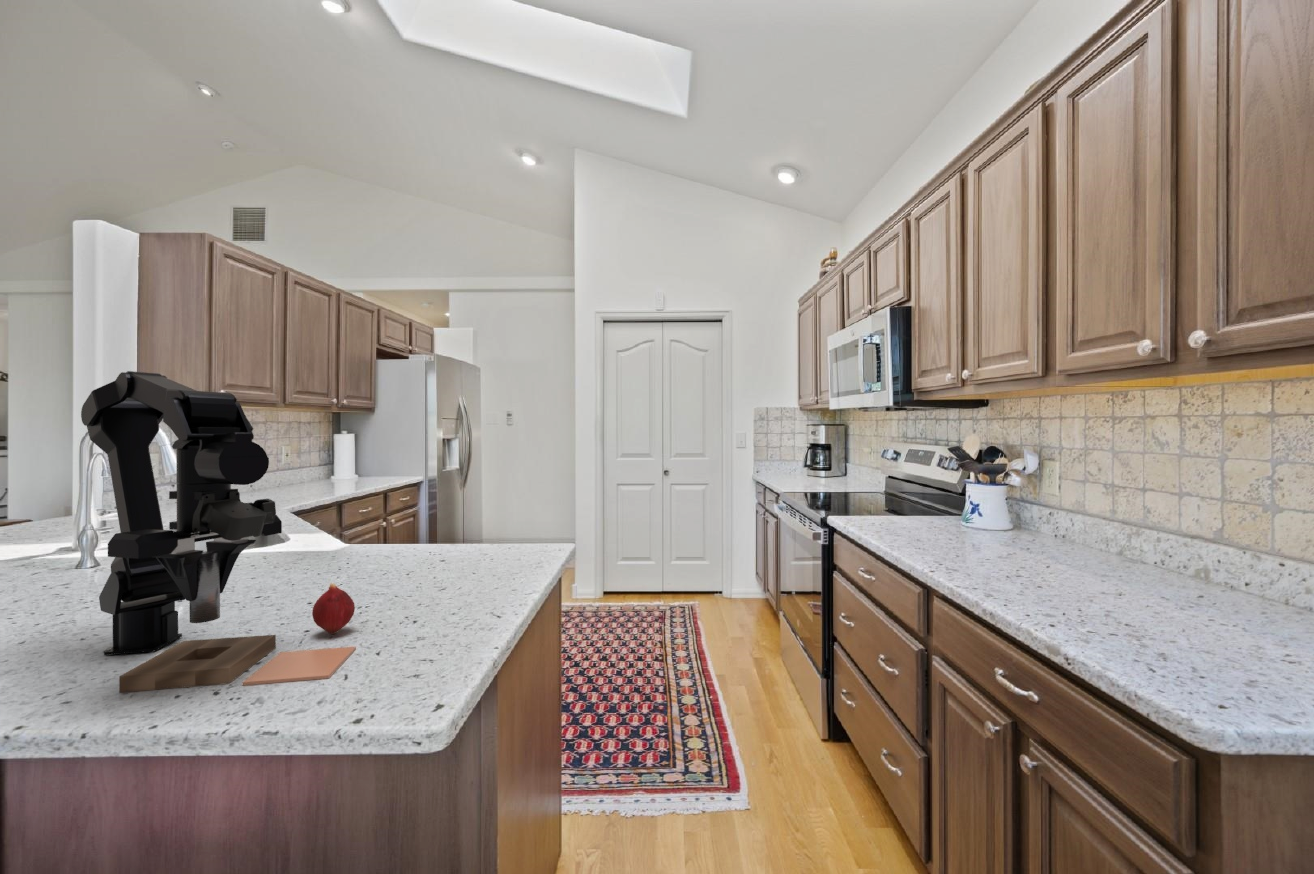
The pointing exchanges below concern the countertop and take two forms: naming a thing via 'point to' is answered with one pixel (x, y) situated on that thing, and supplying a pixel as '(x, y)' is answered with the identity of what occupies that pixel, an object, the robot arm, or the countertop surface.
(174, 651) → the plate
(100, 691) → the countertop surface
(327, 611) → the onion
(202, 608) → the peg
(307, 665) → the tile
